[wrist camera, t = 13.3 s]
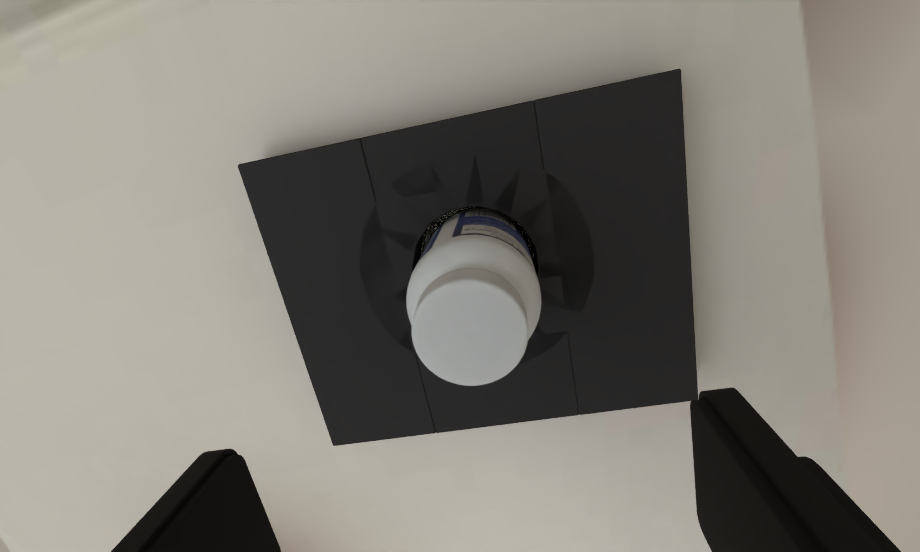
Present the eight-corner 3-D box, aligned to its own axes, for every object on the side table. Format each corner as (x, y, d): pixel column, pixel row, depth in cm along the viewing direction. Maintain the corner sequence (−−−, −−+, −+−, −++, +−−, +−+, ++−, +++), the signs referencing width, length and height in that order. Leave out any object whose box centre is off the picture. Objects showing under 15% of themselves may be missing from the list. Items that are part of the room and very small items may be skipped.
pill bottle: (462, 319, 26) (445, 428, 17) (409, 239, 25) (358, 309, 15) (547, 273, 25) (579, 362, 15) (496, 186, 23) (498, 228, 14)
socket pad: (660, 74, 21) (681, 68, 19) (679, 374, 26) (698, 400, 24) (262, 160, 24) (236, 164, 21) (346, 419, 28) (332, 446, 26)
